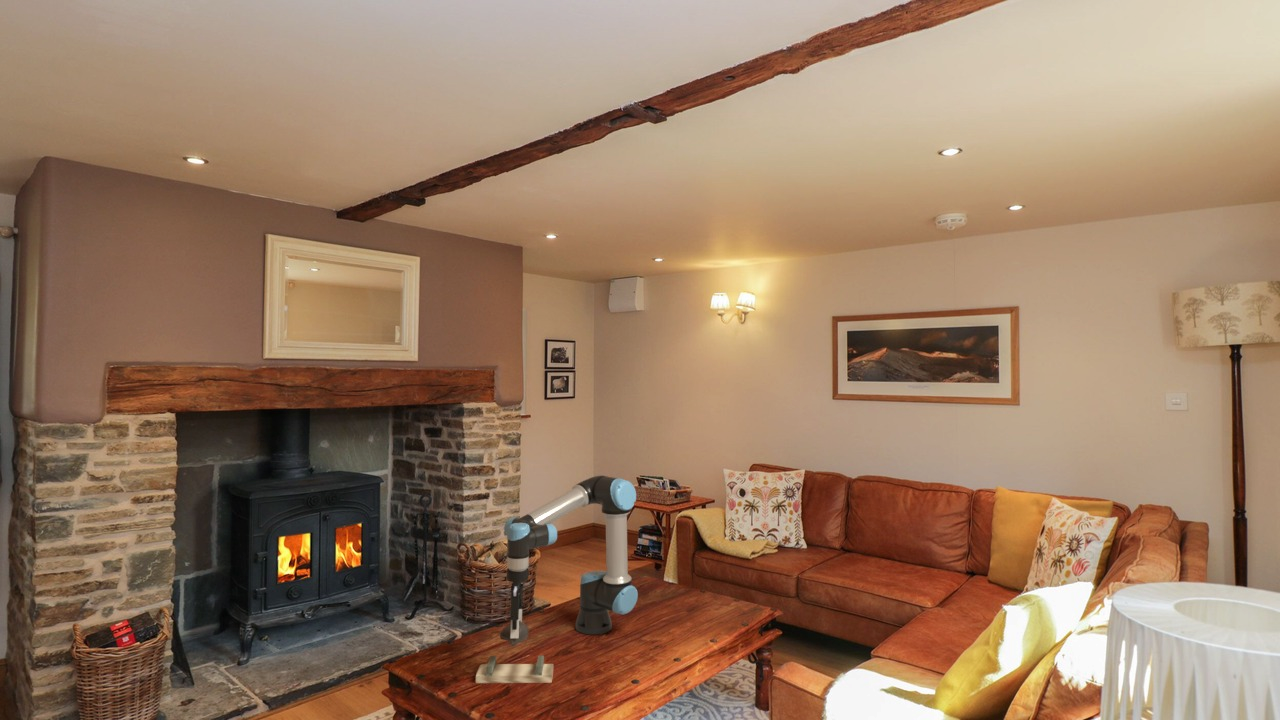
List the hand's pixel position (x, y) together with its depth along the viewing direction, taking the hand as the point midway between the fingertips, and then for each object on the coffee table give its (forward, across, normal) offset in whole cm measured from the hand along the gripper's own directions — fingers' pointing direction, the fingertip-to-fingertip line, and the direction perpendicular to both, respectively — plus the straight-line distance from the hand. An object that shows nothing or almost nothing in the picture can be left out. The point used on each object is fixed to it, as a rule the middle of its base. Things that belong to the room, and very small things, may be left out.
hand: (516, 632), depth 240 cm
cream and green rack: (+16, 0, 0) cm, 16 cm away
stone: (+3, 0, -1) cm, 3 cm away
